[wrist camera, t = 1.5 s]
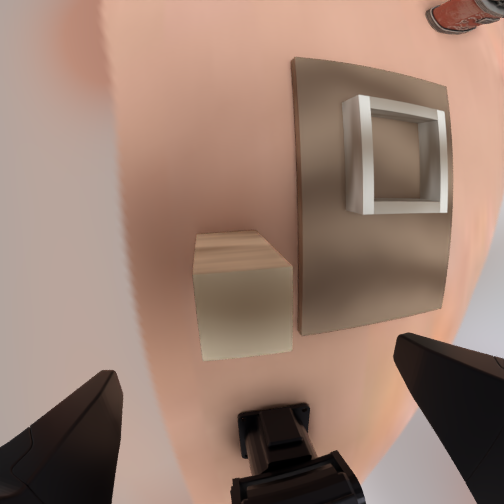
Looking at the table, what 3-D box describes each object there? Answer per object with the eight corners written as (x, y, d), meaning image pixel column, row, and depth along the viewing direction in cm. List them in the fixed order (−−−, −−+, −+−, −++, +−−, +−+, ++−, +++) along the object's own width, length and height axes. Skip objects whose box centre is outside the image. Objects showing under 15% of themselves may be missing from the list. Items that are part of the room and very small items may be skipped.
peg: (257, 285, 22) (292, 351, 13) (201, 290, 22) (202, 361, 13) (255, 229, 21) (292, 266, 12) (196, 234, 21) (192, 274, 12)
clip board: (435, 304, 25) (458, 318, 22) (297, 330, 23) (312, 353, 20) (439, 88, 21) (465, 82, 17) (290, 61, 19) (306, 43, 15)
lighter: (436, 36, 19) (510, 6, 10) (419, 7, 18) (487, -30, 9) (476, 33, 20) (539, 13, 10) (462, 7, 19) (522, -18, 9)
